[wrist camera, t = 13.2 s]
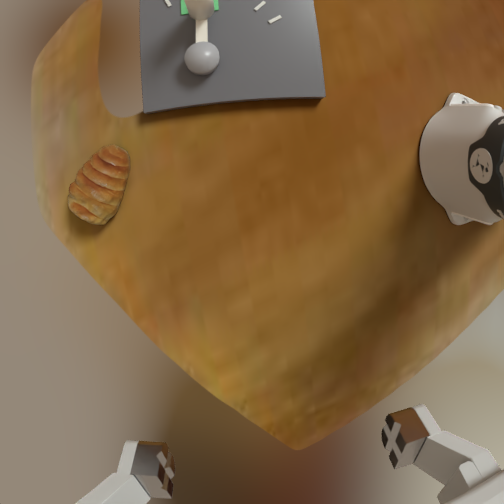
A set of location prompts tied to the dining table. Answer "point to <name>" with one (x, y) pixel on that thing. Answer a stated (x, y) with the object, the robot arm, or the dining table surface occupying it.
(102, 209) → the pastry
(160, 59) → the dial plate
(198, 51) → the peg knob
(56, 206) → the dining table surface
